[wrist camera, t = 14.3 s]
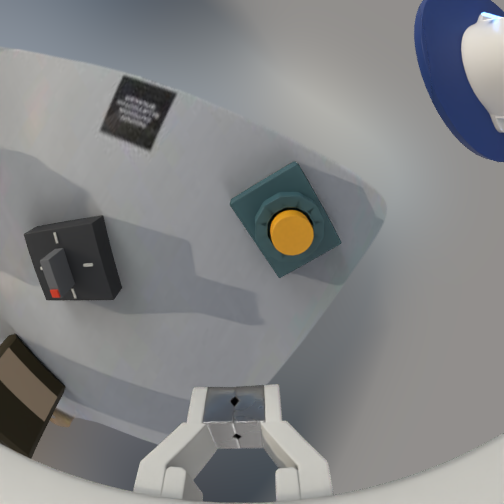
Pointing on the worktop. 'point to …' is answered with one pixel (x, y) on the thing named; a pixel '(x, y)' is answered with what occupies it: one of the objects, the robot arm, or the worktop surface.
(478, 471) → the robot arm
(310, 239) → the trigger button
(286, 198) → the teal button mount
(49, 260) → the grey rectangular block
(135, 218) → the worktop surface
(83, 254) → the dark grey flat block
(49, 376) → the bottle
